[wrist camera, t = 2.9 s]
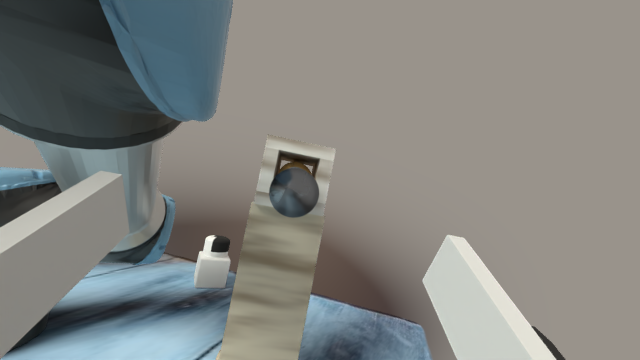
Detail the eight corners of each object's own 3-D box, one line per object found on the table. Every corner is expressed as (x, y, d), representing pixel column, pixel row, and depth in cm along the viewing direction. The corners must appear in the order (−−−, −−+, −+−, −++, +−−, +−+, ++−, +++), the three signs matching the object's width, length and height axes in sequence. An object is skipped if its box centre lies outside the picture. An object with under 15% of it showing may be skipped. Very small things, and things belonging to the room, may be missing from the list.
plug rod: (320, 232, 17) (334, 166, 17) (253, 220, 17) (266, 152, 17) (305, 192, 43) (310, 165, 43) (278, 187, 43) (283, 160, 43)
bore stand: (297, 441, 29) (352, 151, 32) (187, 431, 28) (250, 130, 30) (295, 369, 41) (334, 162, 43) (217, 359, 40) (262, 147, 42)
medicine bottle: (221, 278, 73) (230, 235, 74) (225, 288, 67) (235, 241, 67) (193, 277, 70) (203, 232, 70) (194, 288, 63) (205, 238, 64)
